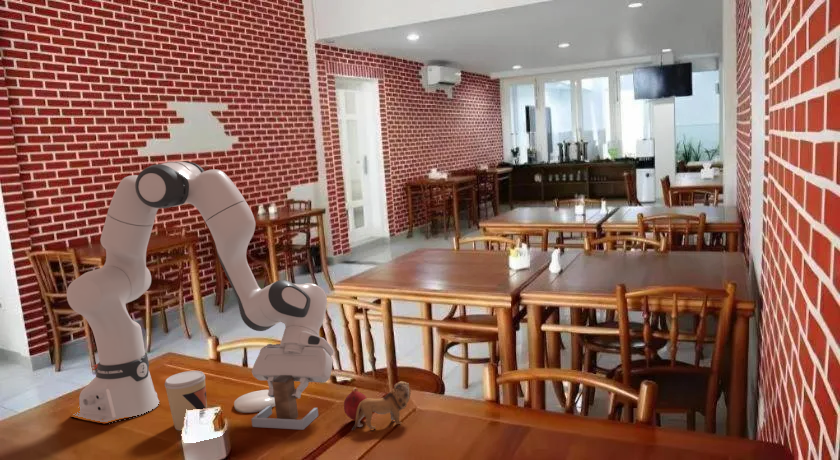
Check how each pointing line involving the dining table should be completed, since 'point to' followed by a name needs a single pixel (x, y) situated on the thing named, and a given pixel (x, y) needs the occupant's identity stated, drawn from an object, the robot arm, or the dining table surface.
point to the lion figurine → (384, 405)
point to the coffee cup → (185, 394)
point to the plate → (254, 402)
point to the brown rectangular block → (284, 397)
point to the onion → (353, 403)
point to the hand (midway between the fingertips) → (283, 397)
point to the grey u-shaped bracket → (282, 420)
